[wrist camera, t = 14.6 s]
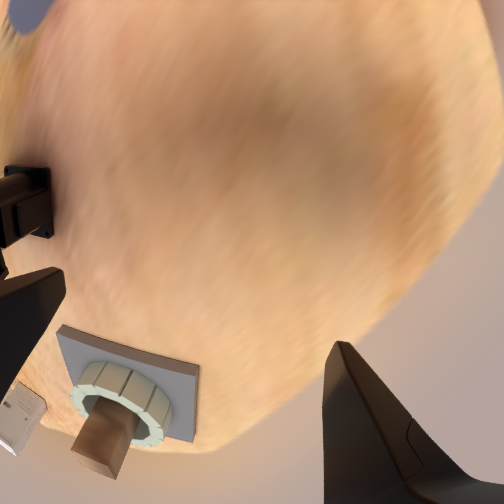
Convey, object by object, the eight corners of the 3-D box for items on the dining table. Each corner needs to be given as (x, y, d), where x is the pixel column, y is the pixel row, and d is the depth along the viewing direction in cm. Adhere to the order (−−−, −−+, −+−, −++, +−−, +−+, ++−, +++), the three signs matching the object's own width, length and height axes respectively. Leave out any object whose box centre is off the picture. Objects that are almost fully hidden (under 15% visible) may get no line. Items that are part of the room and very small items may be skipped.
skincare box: (45, 399, 37) (13, 450, 26) (47, 410, 39) (19, 458, 28) (18, 380, 36) (-16, 427, 26) (22, 393, 38) (-9, 437, 27)
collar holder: (86, 399, 34) (71, 425, 29) (62, 324, 28) (38, 352, 24) (195, 434, 34) (186, 465, 29) (198, 365, 28) (186, 404, 23)
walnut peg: (113, 400, 30) (81, 465, 21) (108, 380, 29) (70, 449, 20) (143, 411, 30) (115, 479, 21) (140, 391, 29) (107, 466, 20)
